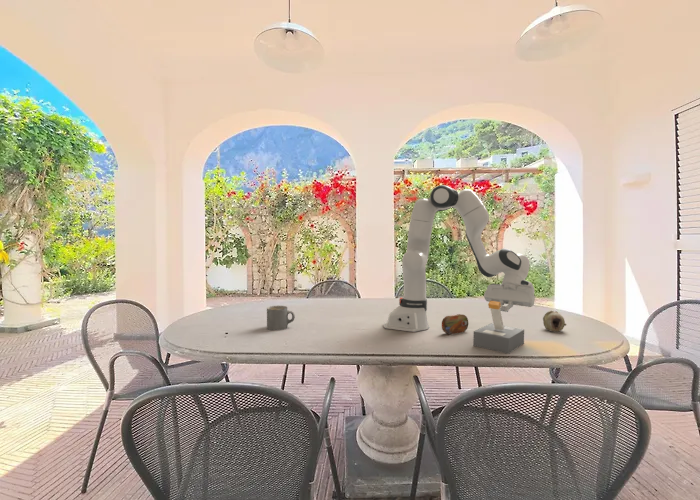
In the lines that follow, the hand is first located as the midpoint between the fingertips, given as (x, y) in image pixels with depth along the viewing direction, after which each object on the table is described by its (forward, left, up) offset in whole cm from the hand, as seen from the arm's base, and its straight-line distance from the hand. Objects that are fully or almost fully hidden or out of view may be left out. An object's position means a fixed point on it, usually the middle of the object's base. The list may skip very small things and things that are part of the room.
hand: (503, 310), depth 144 cm
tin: (-19, +10, -14) cm, 26 cm away
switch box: (-2, -3, -14) cm, 14 cm away
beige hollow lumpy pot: (+28, +26, -14) cm, 41 cm away
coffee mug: (-102, -2, -14) cm, 103 cm away
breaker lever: (-2, -3, -7) cm, 8 cm away
